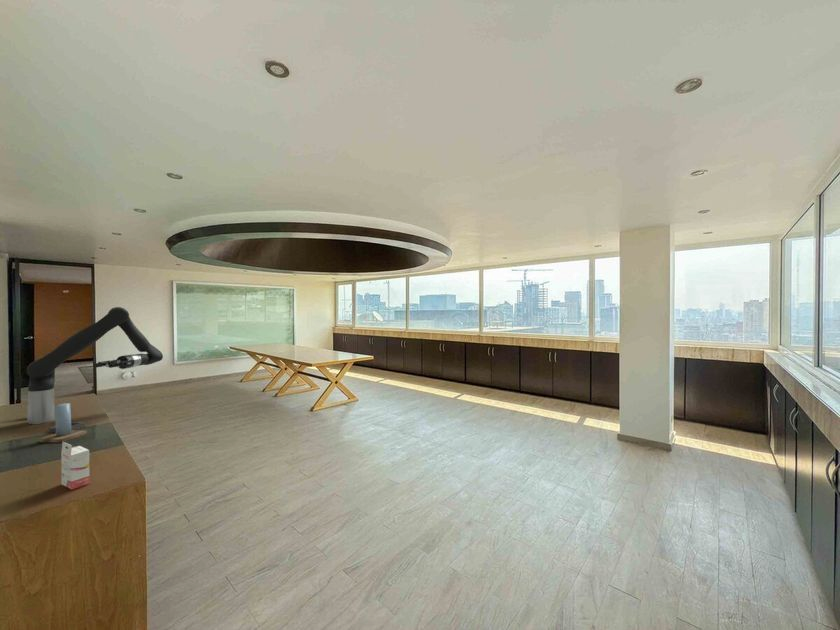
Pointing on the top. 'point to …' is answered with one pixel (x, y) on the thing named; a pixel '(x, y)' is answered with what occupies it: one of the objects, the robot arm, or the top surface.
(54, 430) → the square grey frame
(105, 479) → the top surface
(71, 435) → the walnut board
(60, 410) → the canister
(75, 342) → the robot arm
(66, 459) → the ink cartridge box
